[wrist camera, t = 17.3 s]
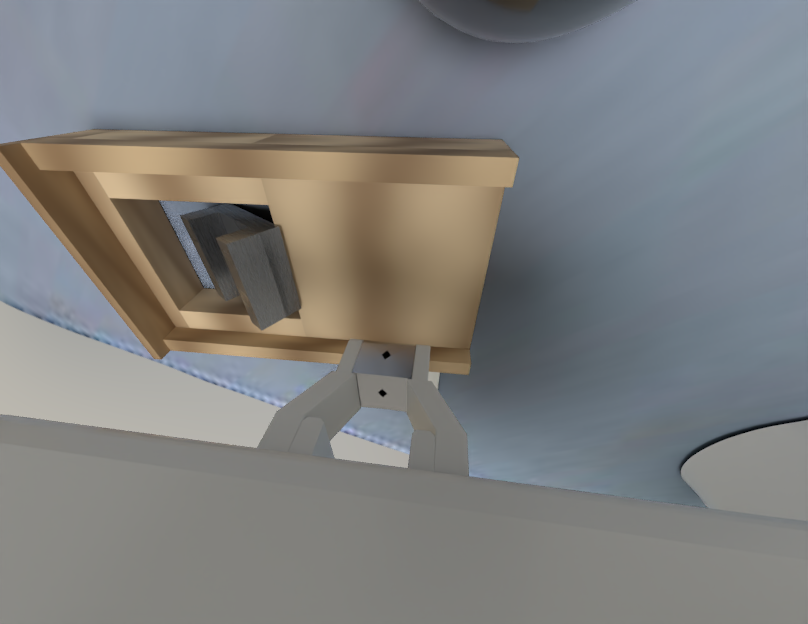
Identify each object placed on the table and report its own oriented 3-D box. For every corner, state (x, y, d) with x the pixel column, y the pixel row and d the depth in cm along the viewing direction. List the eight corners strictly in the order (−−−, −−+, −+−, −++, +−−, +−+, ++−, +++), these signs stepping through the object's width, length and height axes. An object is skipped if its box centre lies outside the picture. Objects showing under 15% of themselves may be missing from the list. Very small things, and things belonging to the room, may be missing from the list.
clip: (278, 226, 14) (226, 244, 12) (301, 308, 17) (261, 330, 16) (229, 202, 16) (180, 215, 15) (256, 278, 19) (218, 295, 18)
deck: (502, 139, 13) (524, 162, 10) (464, 333, 21) (469, 385, 17) (93, 129, 15) (-15, 146, 11) (199, 314, 22) (154, 358, 19)
